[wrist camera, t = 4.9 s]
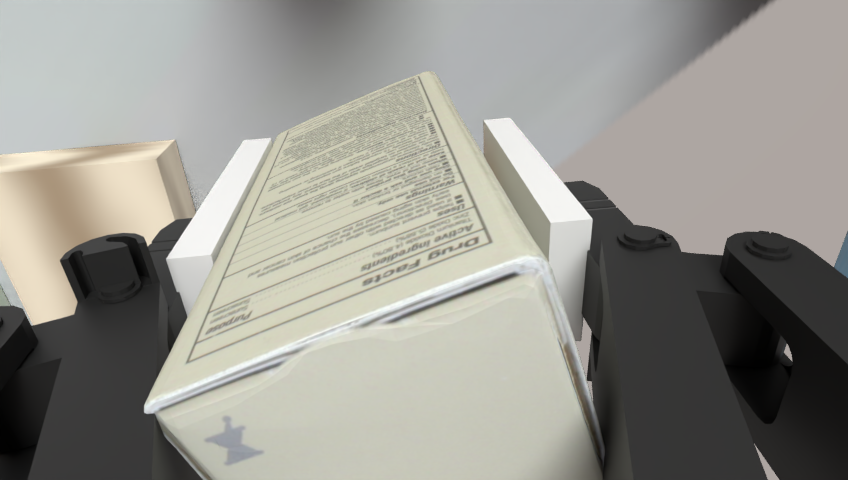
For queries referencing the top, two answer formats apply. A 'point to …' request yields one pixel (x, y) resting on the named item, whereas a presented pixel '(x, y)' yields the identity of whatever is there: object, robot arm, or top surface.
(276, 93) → the top surface
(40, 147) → the top surface
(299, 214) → the box
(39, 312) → the stand
